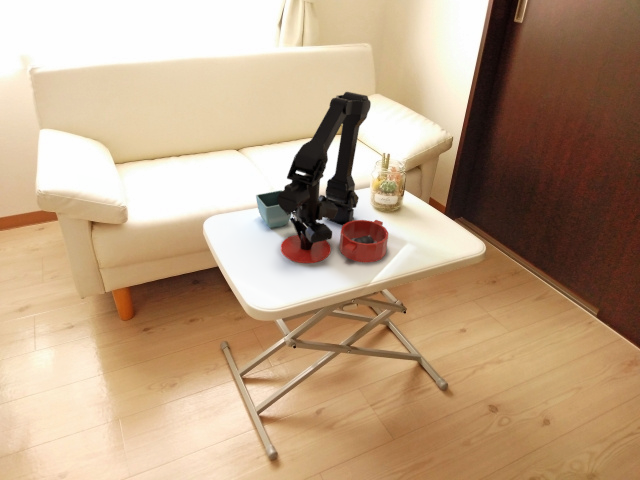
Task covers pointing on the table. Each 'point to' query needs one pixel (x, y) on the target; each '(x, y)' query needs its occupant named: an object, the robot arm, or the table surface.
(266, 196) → the flower pot
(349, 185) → the robot arm
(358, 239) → the grey lumpy block
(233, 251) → the table surface
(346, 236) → the pot
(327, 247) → the lid
